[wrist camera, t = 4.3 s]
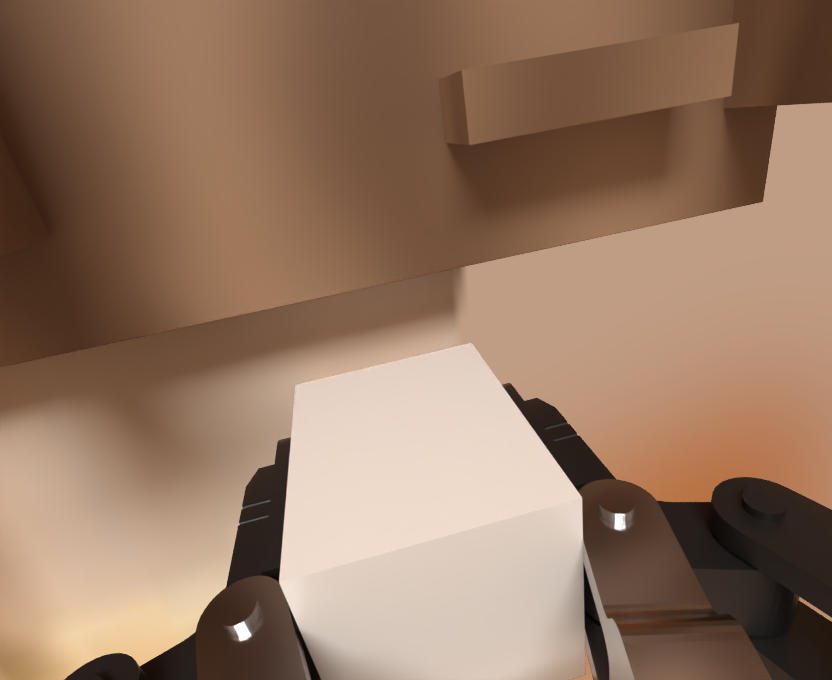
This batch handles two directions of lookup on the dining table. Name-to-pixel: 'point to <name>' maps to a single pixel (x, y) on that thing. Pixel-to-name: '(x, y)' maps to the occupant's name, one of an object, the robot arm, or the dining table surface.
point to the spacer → (430, 529)
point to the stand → (360, 143)
